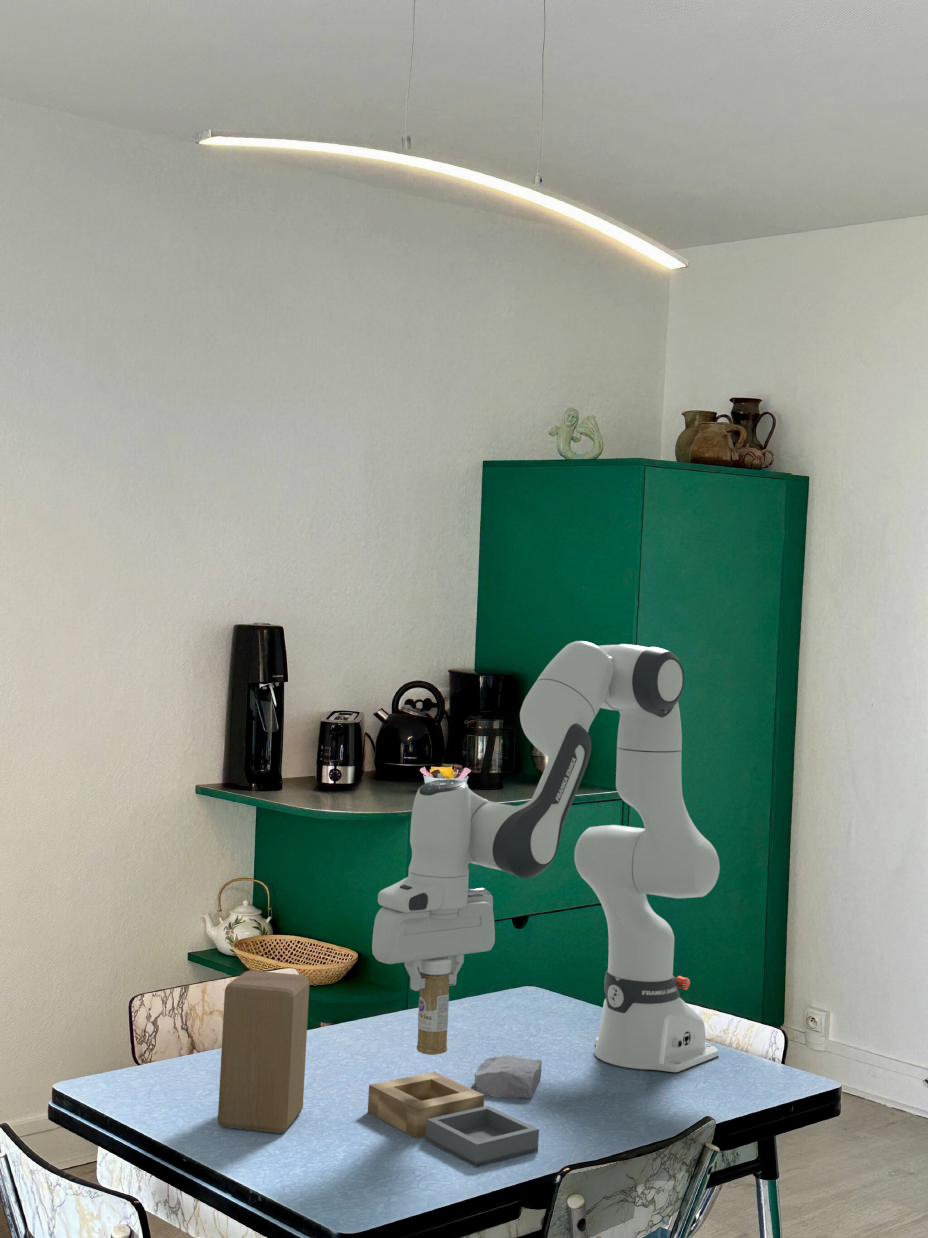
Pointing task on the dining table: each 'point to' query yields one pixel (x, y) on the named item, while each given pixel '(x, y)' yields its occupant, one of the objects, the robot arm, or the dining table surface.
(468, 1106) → the oak bore block
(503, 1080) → the stone block
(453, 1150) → the tray
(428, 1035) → the sprinkles bottle
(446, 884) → the robot arm
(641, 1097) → the dining table surface
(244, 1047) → the wooden block
